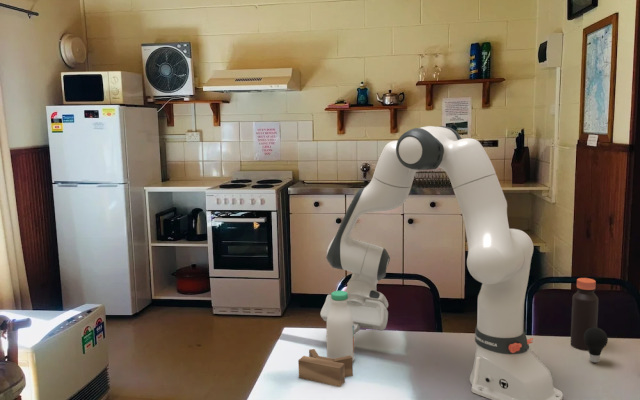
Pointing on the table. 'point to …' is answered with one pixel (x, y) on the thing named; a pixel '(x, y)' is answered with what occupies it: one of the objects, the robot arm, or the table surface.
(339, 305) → the milk bottle
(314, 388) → the table surface
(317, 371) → the cradle
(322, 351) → the table surface
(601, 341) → the light bulb
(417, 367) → the table surface
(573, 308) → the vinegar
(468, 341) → the table surface
